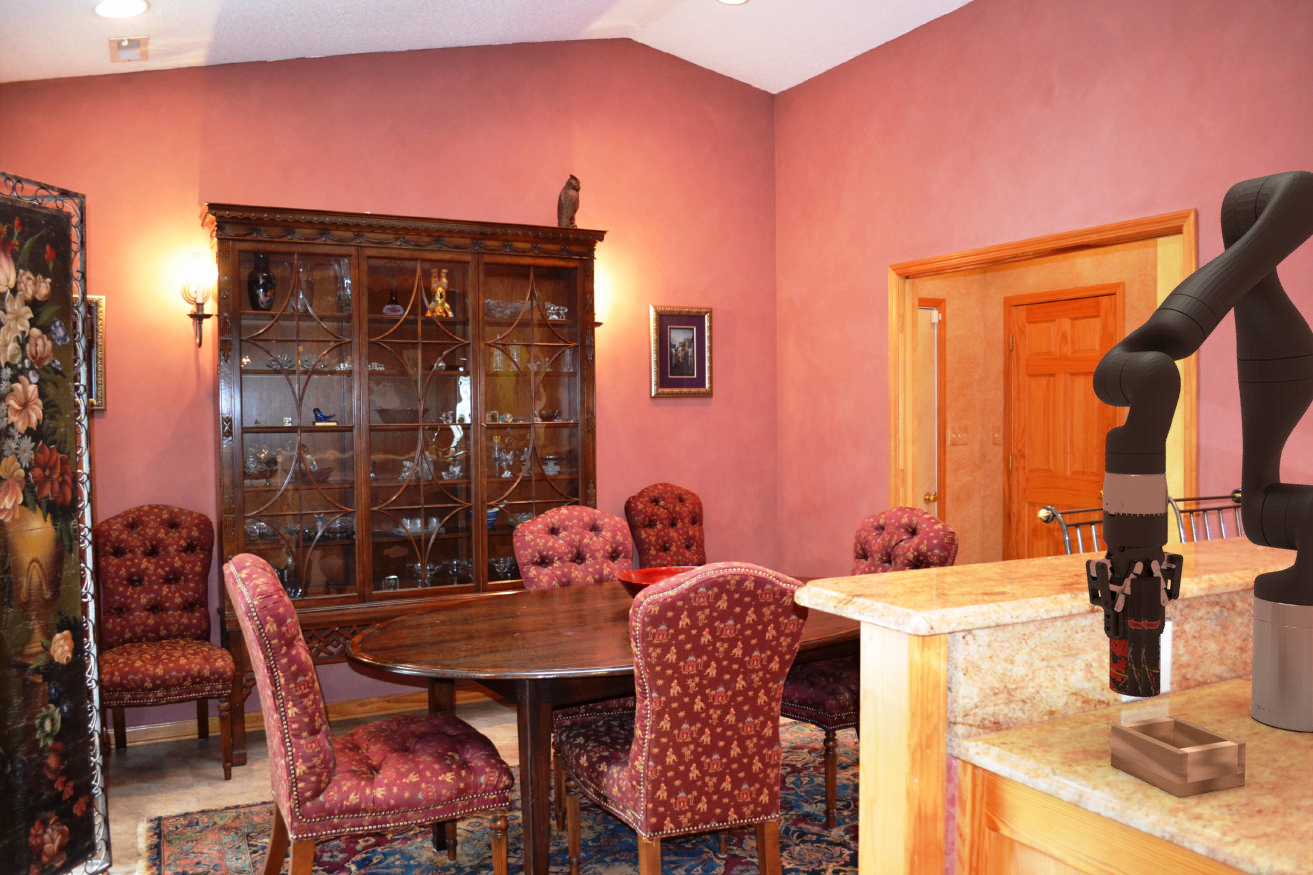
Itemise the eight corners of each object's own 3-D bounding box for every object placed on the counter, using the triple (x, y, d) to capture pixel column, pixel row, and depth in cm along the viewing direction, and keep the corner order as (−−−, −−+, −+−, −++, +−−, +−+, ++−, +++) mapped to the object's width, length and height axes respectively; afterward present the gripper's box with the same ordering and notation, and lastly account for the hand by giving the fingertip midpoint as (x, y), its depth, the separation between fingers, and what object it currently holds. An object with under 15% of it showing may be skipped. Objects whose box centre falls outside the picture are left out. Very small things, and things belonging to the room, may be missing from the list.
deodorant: (1166, 698, 119) (1167, 580, 119) (1116, 696, 121) (1116, 580, 120) (1152, 683, 125) (1152, 571, 124) (1104, 681, 126) (1104, 570, 126)
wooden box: (1173, 754, 120) (1173, 715, 120) (1244, 784, 110) (1245, 742, 110) (1110, 764, 117) (1111, 724, 116) (1178, 797, 107) (1179, 753, 107)
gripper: (1154, 500, 127) (1154, 623, 128) (1068, 507, 123) (1068, 634, 124) (1202, 507, 120) (1202, 637, 121) (1113, 514, 116) (1112, 649, 117)
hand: (1134, 635), depth 122 cm, fingers closed on deodorant, 6 cm apart
